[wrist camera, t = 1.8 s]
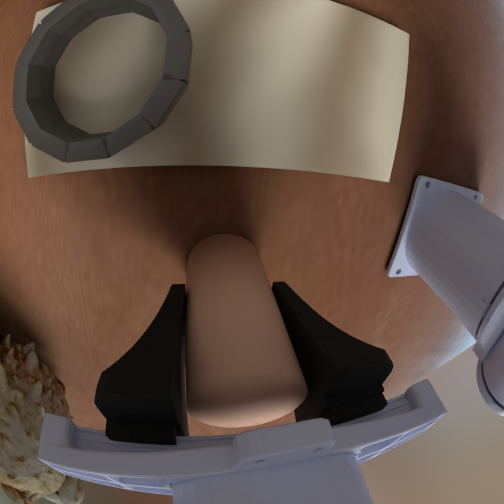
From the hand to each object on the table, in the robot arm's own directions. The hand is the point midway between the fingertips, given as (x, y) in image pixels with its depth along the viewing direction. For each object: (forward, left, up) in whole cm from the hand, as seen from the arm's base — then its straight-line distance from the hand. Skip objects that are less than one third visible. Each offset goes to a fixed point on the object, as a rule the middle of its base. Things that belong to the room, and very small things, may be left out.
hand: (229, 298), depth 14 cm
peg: (0, 0, -3) cm, 3 cm away
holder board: (+1, -11, -3) cm, 11 cm away
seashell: (+21, +11, -3) cm, 24 cm away
